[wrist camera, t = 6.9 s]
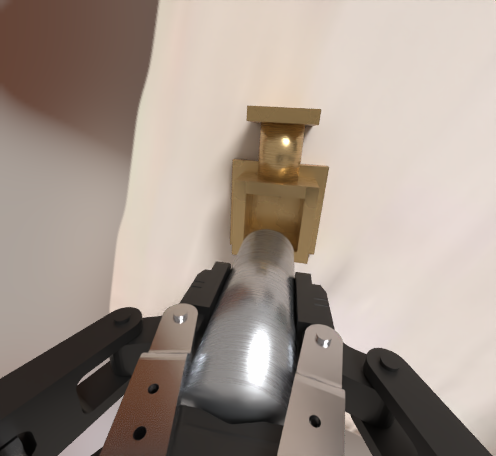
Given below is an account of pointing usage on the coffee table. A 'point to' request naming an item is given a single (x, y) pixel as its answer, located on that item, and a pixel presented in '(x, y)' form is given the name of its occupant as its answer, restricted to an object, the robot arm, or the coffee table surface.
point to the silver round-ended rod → (249, 338)
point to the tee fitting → (279, 182)
